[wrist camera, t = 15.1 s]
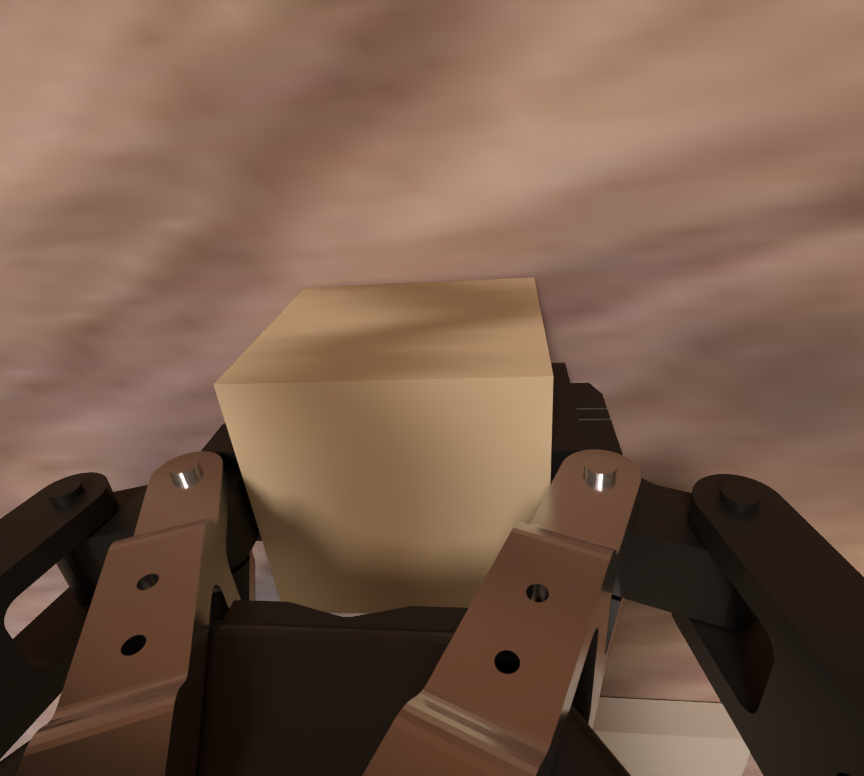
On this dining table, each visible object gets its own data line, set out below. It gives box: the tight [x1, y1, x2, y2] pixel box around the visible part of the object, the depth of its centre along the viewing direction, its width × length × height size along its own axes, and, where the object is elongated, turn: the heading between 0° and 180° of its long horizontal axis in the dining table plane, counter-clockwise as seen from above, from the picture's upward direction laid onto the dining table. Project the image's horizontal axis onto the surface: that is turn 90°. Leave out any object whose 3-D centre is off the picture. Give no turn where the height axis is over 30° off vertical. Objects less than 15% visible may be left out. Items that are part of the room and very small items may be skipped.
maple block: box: [214, 277, 553, 613], centre depth 12 cm, size 5×5×5 cm
